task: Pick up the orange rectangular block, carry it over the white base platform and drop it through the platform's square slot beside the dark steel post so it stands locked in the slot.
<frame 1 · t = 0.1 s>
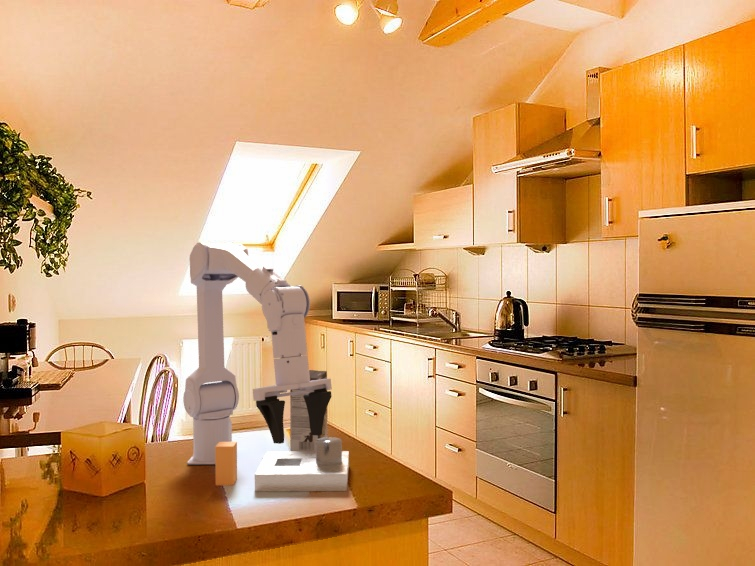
hand: (298, 439, 107), 11 cm above the kitchen island counter, tool pointing down, fingers open, 7 cm apart
white base platform: (304, 478, 120), on the kitchen island counter
coffee box: (309, 447, 141), on the kitchen island counter
orange rectangular block: (226, 482, 117), on the kitchen island counter
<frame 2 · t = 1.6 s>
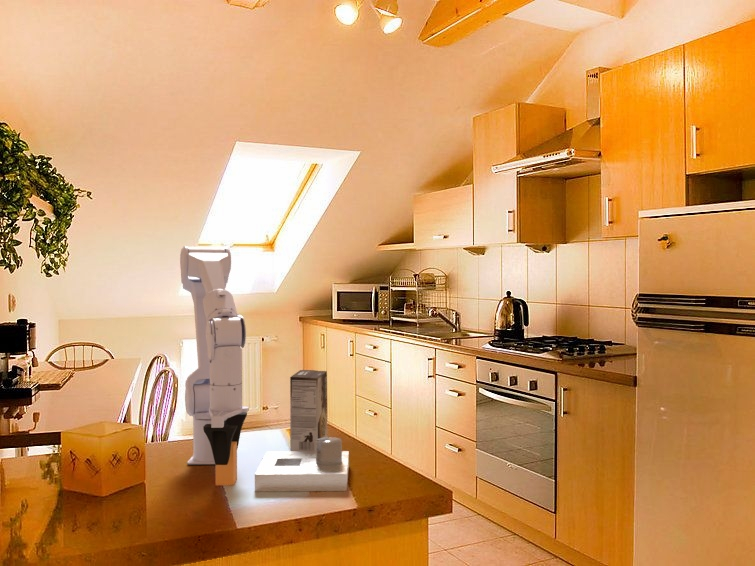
hand: (226, 458, 117), 4 cm above the kitchen island counter, tool pointing down, fingers open, 7 cm apart
nothing on the kitchen island counter moved.
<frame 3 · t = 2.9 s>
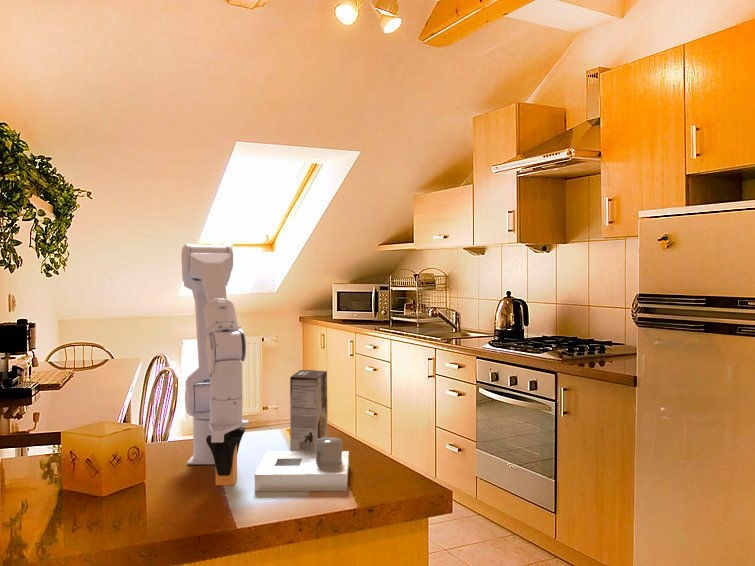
hand: (226, 471, 117), 2 cm above the kitchen island counter, tool pointing down, fingers closed on orange rectangular block, 3 cm apart
orange rectangular block: (226, 482, 117), on the kitchen island counter, touching gripper
everything else where it was.
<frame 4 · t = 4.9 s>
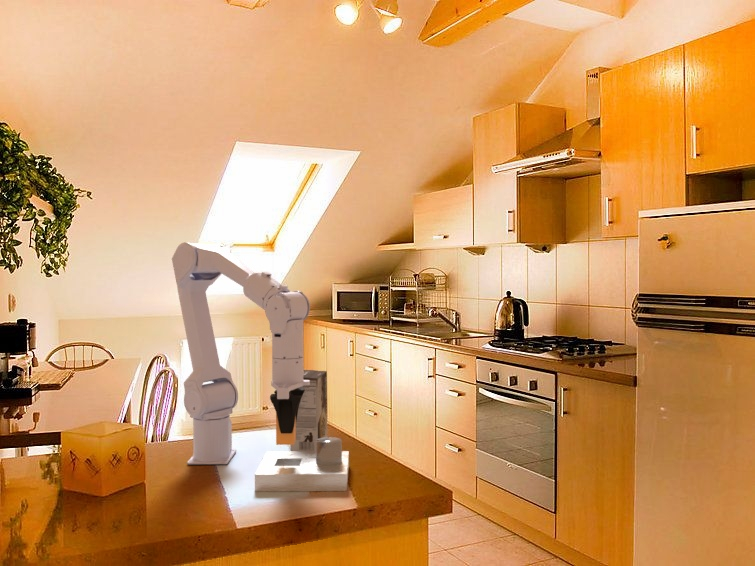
hand: (288, 430, 119), 9 cm above the kitchen island counter, tool pointing down, fingers closed on orange rectangular block, 3 cm apart
orange rectangular block: (286, 442, 119), point 7 cm above the kitchen island counter, touching gripper
everything else where it was.
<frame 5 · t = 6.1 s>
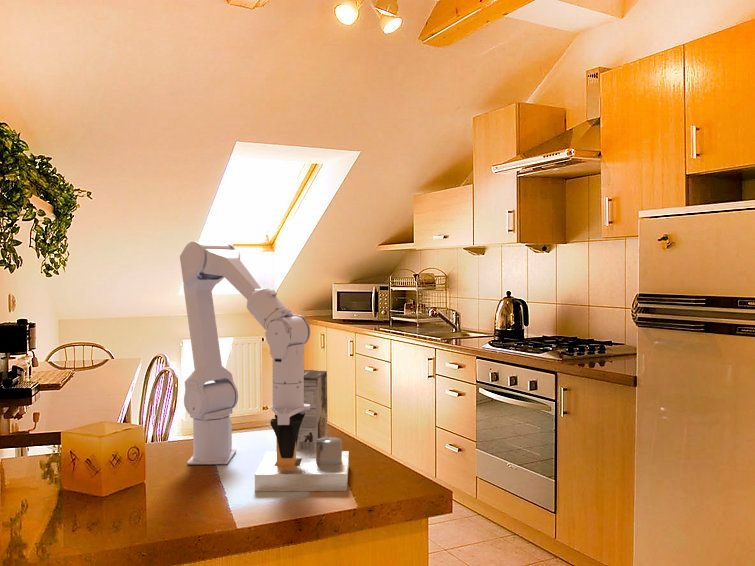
hand: (288, 454, 119), 4 cm above the kitchen island counter, tool pointing down, fingers closed on orange rectangular block, 3 cm apart
orange rectangular block: (286, 466, 119), point 2 cm above the kitchen island counter, touching gripper
everything else where it was.
when the fingers open (4 cm above the kitchen island counter, at t = 6.8 s): orange rectangular block drops 2 cm, resting in white base platform.
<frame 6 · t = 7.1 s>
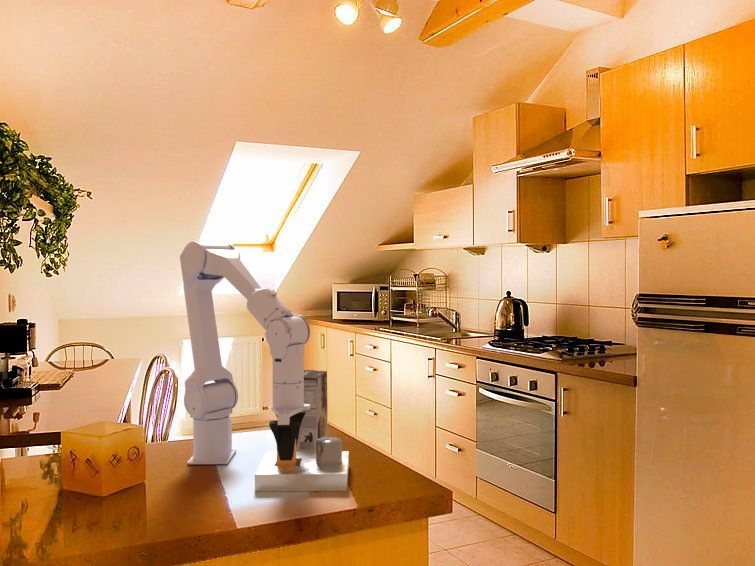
hand: (288, 454, 119), 4 cm above the kitchen island counter, tool pointing down, fingers open, 6 cm apart
orange rectangular block: (286, 478, 120), resting in white base platform
everything else where it was.
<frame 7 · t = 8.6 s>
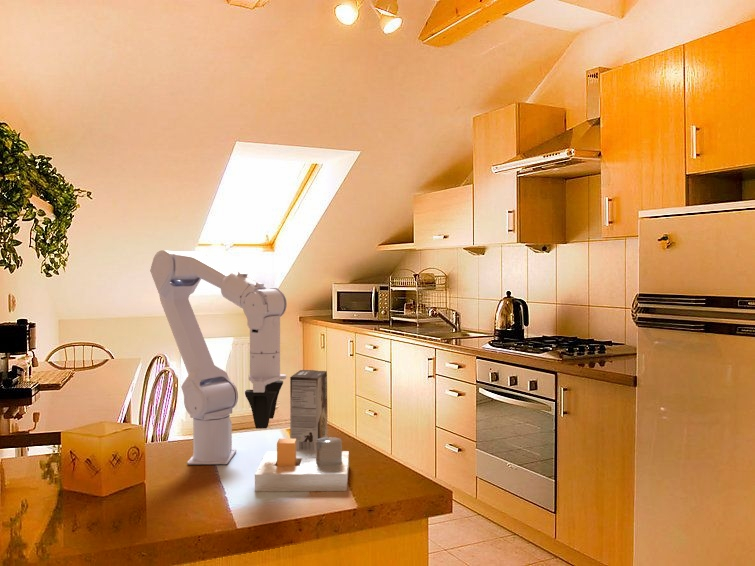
hand: (264, 423, 123), 9 cm above the kitchen island counter, tool pointing down, fingers open, 7 cm apart
nothing on the kitchen island counter moved.
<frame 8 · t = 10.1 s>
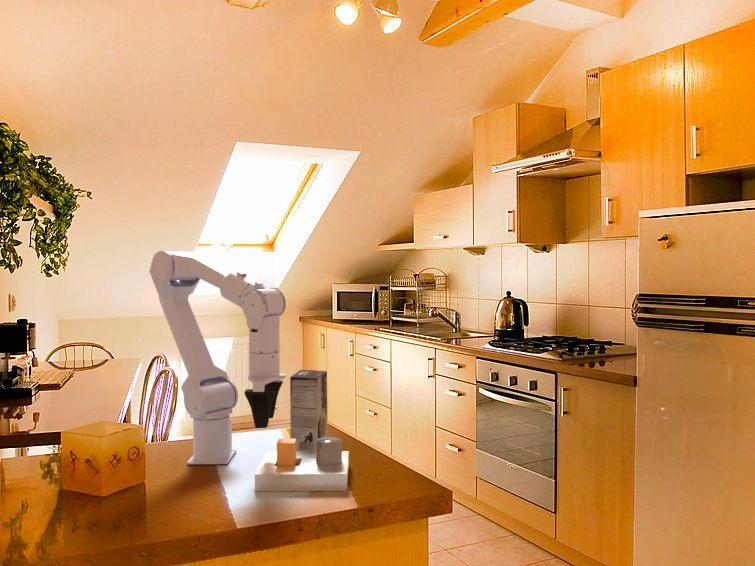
hand: (264, 422, 123), 9 cm above the kitchen island counter, tool pointing down, fingers open, 7 cm apart
nothing on the kitchen island counter moved.
at the end: orange rectangular block 0.3 cm from the target spot on the white base platform, point 0.0 cm above the white base platform's base; orange rectangular block tilted 0°; the gripper is holding nothing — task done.
